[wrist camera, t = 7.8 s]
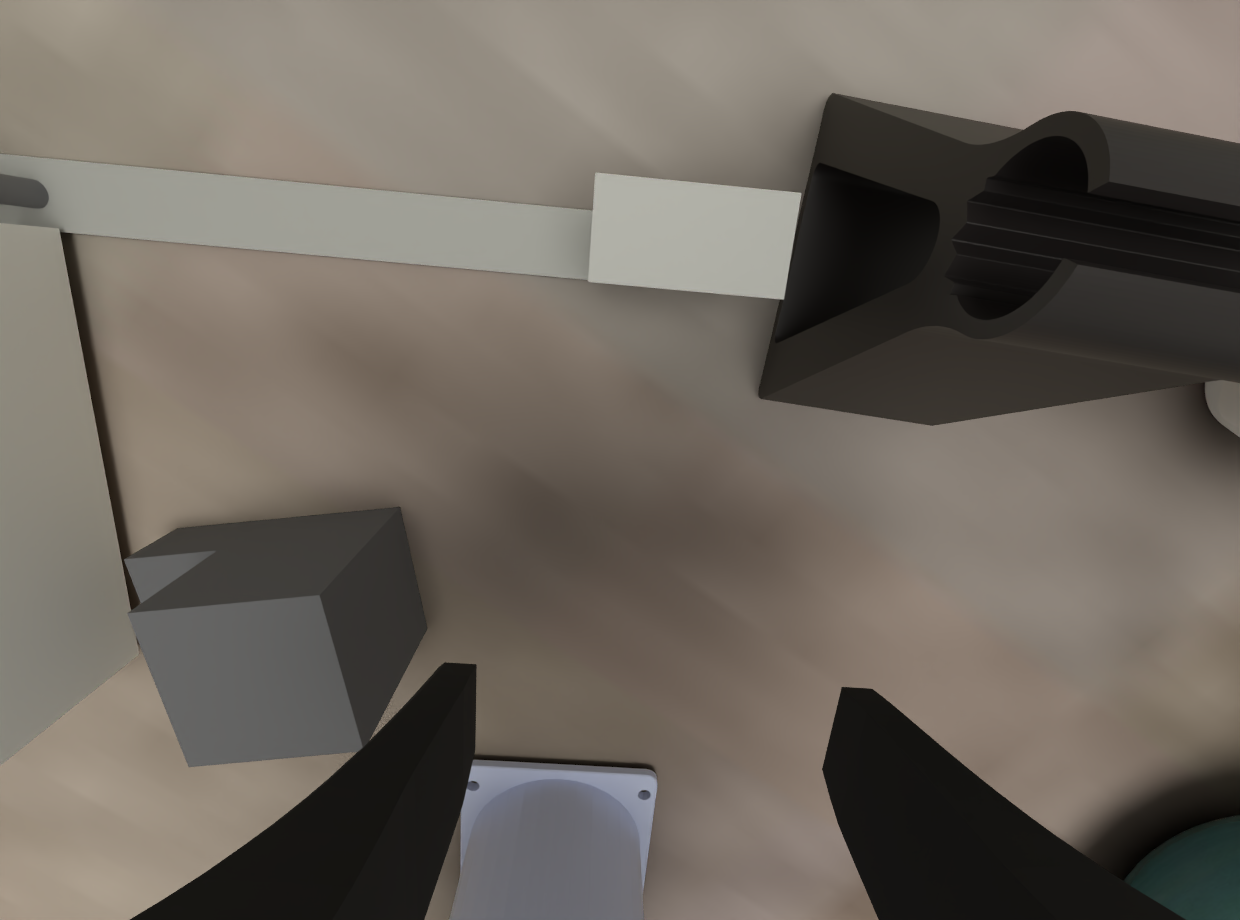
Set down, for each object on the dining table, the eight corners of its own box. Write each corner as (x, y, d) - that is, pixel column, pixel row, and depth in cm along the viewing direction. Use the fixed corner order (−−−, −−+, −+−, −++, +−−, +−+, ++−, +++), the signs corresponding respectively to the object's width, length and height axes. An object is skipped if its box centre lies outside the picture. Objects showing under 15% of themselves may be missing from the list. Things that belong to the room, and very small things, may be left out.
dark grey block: (427, 628, 22) (363, 751, 16) (220, 647, 22) (84, 776, 16) (399, 507, 21) (319, 595, 15) (177, 528, 21) (12, 624, 15)
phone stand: (827, 96, 17) (1282, -283, 5) (1020, 134, 17) (1821, -143, 6) (755, 395, 20) (961, 562, 8) (924, 423, 20) (1347, 619, 9)
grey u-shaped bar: (720, 291, 18) (783, 299, 12) (-137, 213, 17) (-602, 174, 11) (729, 224, 18) (801, 192, 11) (-158, 139, 17) (-663, 48, 10)
